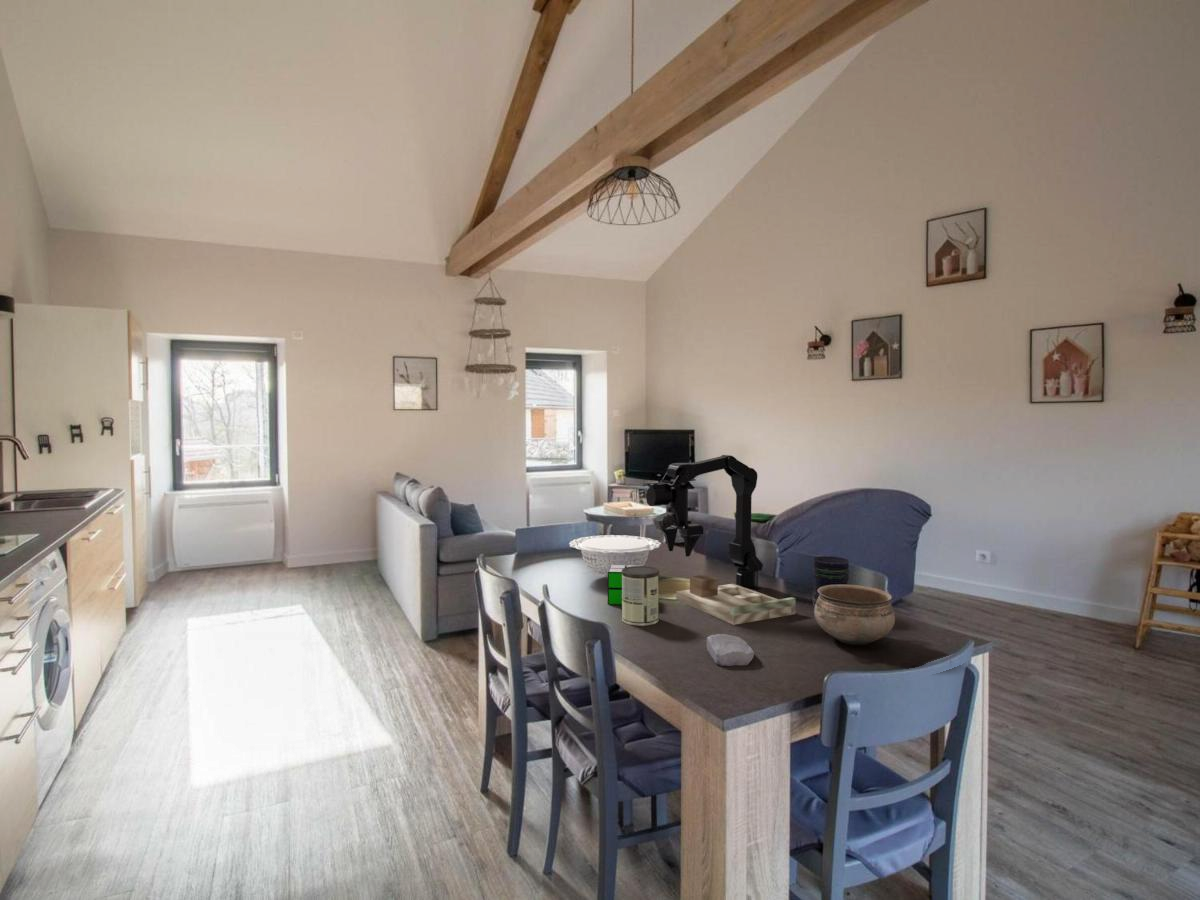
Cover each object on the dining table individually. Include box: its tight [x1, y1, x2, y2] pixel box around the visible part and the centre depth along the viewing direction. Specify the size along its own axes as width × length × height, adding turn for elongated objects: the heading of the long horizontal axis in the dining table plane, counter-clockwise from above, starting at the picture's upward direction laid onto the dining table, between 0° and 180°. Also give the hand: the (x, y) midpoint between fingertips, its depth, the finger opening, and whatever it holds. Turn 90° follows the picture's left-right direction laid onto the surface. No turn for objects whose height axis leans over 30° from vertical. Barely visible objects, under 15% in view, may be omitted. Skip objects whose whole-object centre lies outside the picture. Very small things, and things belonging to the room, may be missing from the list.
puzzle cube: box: [607, 564, 638, 606], centre depth 205 cm, size 10×10×10 cm
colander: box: [568, 534, 662, 577], centre depth 232 cm, size 32×32×13 cm
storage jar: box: [812, 555, 850, 612], centre depth 195 cm, size 10×10×15 cm
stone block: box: [706, 633, 755, 667], centre depth 158 cm, size 12×5×10 cm
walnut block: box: [689, 574, 719, 597], centre depth 204 cm, size 6×6×5 cm
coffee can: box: [621, 565, 660, 627], centre depth 185 cm, size 10×10×14 cm
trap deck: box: [675, 583, 797, 626], centre depth 199 cm, size 22×28×4 cm
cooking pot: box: [813, 584, 896, 646], centre depth 168 cm, size 25×19×12 cm
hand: (679, 553), depth 209 cm, fingers open, 9 cm apart
